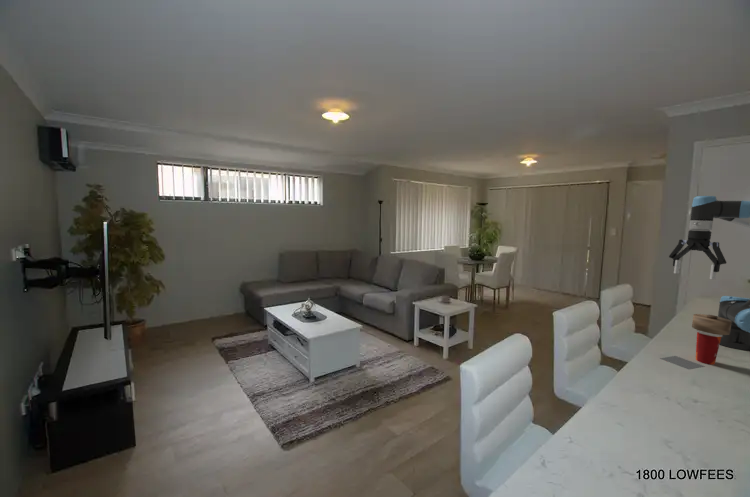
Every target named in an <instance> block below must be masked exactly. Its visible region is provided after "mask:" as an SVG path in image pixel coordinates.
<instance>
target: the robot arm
mask: <svg viewBox="0 0 750 497" xmlns="http://www.w3.org/2000/svg"><path fill="white" fill-rule="evenodd" d="M714 219H720V220H722V221H726V222H730V223H734V224H737V225H739V226H743V227H746V228H749V229H750V200H718V199H717V197H716V196H715V195H698V196H695V197H693V200H692V204H691V211H690V220H689V227H688V229H689V230H688V233H687V234H688V235H687V240H686V239H679V240H678V243H677V245H676V246H675V247H674V249H673V250H672V251H671V253H670V254H669V255H668V258H670V259H672V267H674V268H673V269H674V270H673V274H676V275H677V274H678V275H679V274H680V270H681V263H682V262H681V261H682V260H681V259H682V258H683V256H685V255H687V253H689V252H691V251H697V252H703V253H704V254H705V255H706V257H708V258H709V260H710V261H711V262H712V263H713V264H711V266H710V271H709V272H710V273H709V280H716V277H717V273H719V272H720V267H721V266H722V265H726V264H727V260H726V259H725V256H724V253H723V252H722V250H721V248H720V242H719V241H713V242H711V238H712V231H711V230H713V223H714ZM685 245H686V247H684V246H685ZM710 246H711V248H712V250H713V252H714V253H713V252H712V250H711V249H710V248H709V247H710ZM682 248H684V249H682ZM719 300H720V301H719V307H718V313H717V317H721V318H725V319H728V320H730V321H732V323H731V329H730V334H729V335H723V336H722V337H721V340H720V345H721V346H724V347H727V348H732V349H736V350H744V351H750V298H749V297H741V296H740V297H739V296H731V295H722V296H721V297H720V299H719ZM720 345H719V346H720Z"/></svg>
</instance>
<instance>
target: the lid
mask: <svg viewBox="0 0 750 497" xmlns="http://www.w3.org/2000/svg"><path fill="white" fill-rule="evenodd" d="M692 315H693V316H692V323H691V328H692V329H695V331H696V330H699V331H703V332H707V333H712V334H718V335H729V334H730V329H731V323H732V321H730V320H728V319H725V318H721V317H718V315H713V314H704V313H703V314H701V313H694V314H692Z"/></svg>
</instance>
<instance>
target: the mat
mask: <svg viewBox="0 0 750 497" xmlns="http://www.w3.org/2000/svg"><path fill="white" fill-rule="evenodd" d="M659 359H660V360H663V361H665V362H668V363H671V364H673V365H676V366H679V367H681V368H684V369H686V370H692V369H698V368H704V367H705V366H704V365H702V364H700V363H697V362H694V361H691V360H689V359H686V358H682V357H680V356H677V355H672V356H667V357H660V358H659Z"/></svg>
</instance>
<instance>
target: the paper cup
mask: <svg viewBox="0 0 750 497" xmlns="http://www.w3.org/2000/svg"><path fill="white" fill-rule="evenodd" d="M695 331H696V343H695V344H696V345H695V360H696V361H697V362H699V363H702V364H706V365H716V360H717V356H718V352H719V349H720V340H721V337H722V336H723V335H718V334H712V333H707V332H703V331H699V330H696V329H695Z"/></svg>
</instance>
